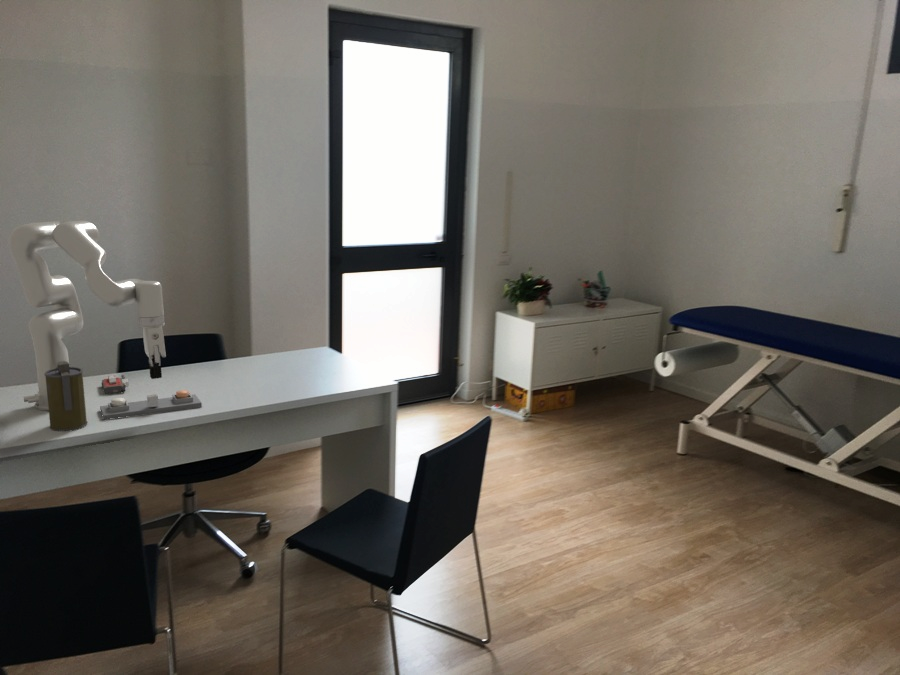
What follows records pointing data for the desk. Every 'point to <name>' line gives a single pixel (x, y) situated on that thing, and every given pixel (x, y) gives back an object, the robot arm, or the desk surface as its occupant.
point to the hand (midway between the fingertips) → (156, 377)
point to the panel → (143, 408)
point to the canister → (66, 397)
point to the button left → (118, 402)
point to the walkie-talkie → (114, 384)
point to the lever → (152, 400)
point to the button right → (182, 394)
